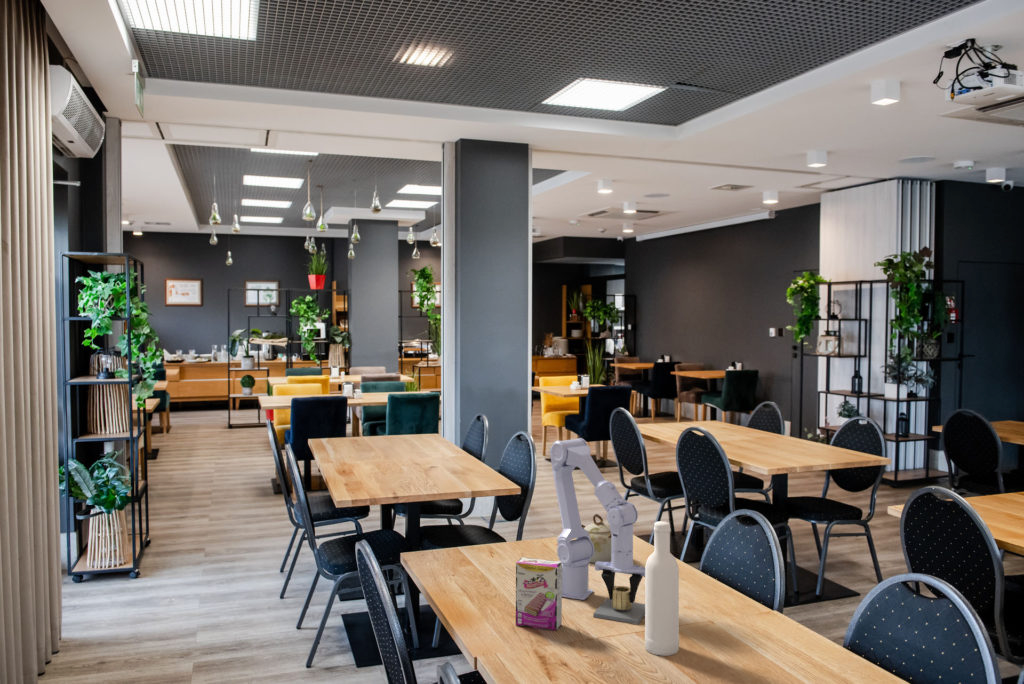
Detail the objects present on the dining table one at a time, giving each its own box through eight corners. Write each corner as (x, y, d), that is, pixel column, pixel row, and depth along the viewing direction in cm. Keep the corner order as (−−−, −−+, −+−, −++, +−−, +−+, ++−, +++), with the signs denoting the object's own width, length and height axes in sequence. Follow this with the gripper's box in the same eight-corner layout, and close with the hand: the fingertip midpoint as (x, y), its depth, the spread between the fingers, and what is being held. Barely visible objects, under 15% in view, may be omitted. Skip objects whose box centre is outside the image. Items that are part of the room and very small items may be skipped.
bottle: (685, 654, 174) (685, 525, 174) (654, 658, 172) (654, 528, 171) (668, 640, 182) (668, 517, 181) (639, 644, 180) (639, 520, 179)
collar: (609, 607, 198) (609, 590, 198) (615, 601, 203) (615, 584, 203) (628, 611, 196) (628, 593, 196) (634, 604, 200) (634, 587, 200)
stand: (593, 616, 197) (593, 596, 196) (607, 601, 207) (607, 582, 207) (638, 624, 191) (638, 603, 191) (649, 608, 202) (649, 588, 202)
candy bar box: (514, 626, 191) (514, 562, 190) (521, 618, 195) (521, 556, 195) (557, 631, 187) (557, 566, 187) (562, 624, 192) (562, 560, 191)
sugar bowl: (560, 559, 246) (560, 513, 246) (587, 549, 257) (587, 505, 257) (610, 572, 233) (610, 524, 233) (636, 560, 244) (636, 515, 244)
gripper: (591, 550, 199) (591, 600, 199) (645, 557, 192) (644, 609, 193) (599, 543, 205) (599, 592, 205) (651, 549, 199) (651, 600, 199)
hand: (622, 600), depth 199 cm, fingers closed on collar, 5 cm apart
